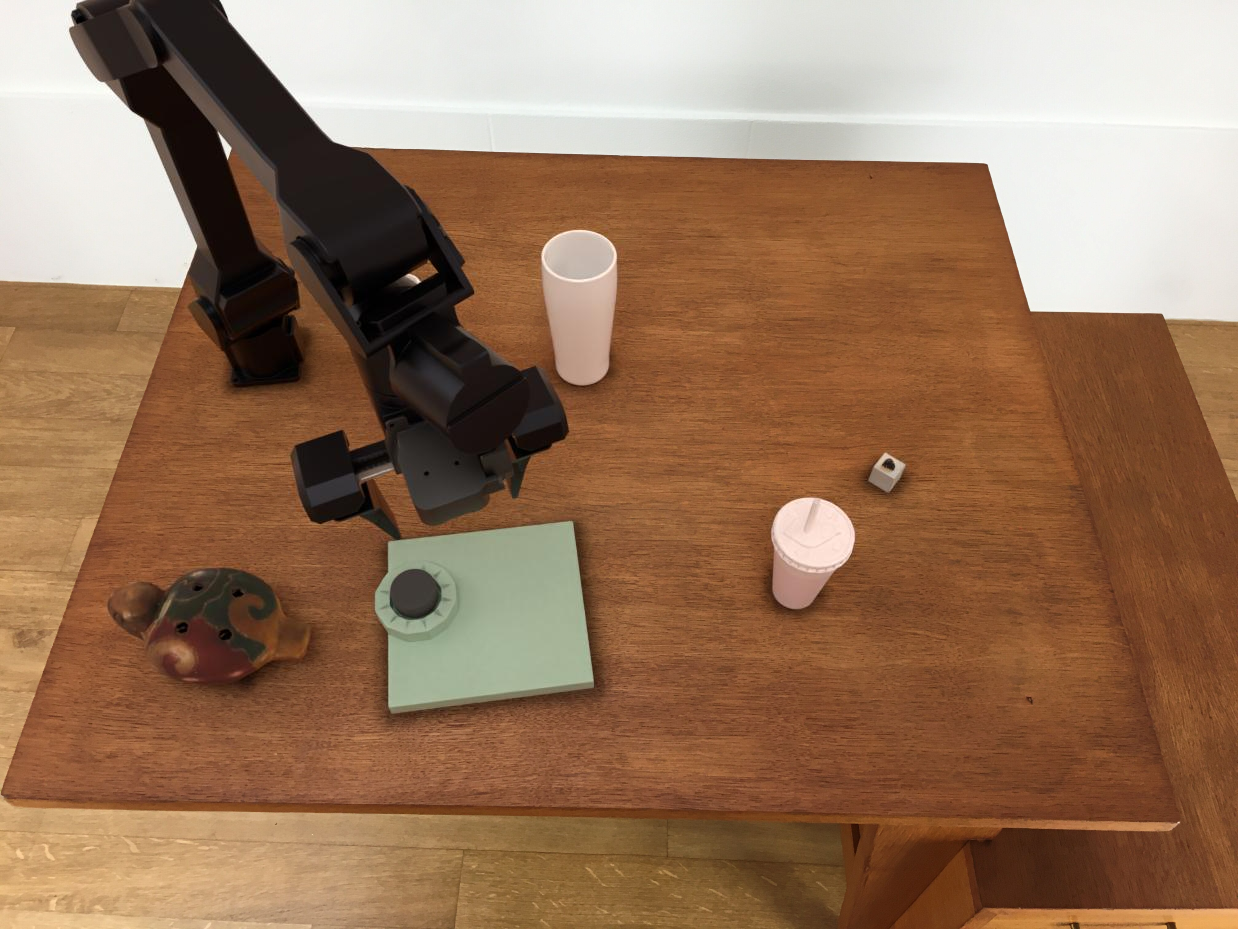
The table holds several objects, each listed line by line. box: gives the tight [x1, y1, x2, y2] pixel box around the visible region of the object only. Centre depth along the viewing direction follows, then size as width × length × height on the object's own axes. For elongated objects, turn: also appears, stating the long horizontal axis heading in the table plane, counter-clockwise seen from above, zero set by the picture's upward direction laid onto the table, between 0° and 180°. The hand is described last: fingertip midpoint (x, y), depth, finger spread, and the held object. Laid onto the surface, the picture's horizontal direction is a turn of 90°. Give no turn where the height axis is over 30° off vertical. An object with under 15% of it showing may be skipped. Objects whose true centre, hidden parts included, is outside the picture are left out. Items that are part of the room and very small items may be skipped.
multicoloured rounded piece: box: [106, 567, 312, 685], centre depth 76 cm, size 10×15×8 cm, turn 88°
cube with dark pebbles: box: [867, 451, 906, 494], centre depth 88 cm, size 2×2×2 cm
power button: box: [390, 569, 438, 618], centre depth 78 cm, size 4×4×2 cm
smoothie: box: [770, 497, 856, 610], centre depth 77 cm, size 6×6×14 cm
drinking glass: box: [540, 229, 619, 387], centre depth 90 cm, size 7×7×15 cm
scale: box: [374, 520, 595, 715], centre depth 79 cm, size 17×15×3 cm
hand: (456, 515), depth 74 cm, fingers open, 9 cm apart
